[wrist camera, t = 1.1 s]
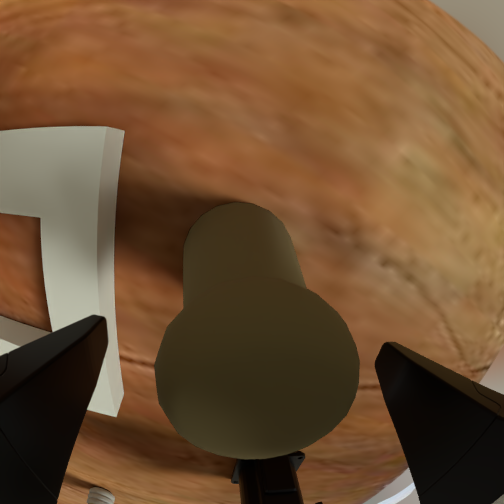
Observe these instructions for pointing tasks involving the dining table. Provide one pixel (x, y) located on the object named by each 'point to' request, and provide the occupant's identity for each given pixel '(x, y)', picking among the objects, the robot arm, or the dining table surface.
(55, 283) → the socket board
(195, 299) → the olive green peg
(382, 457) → the dining table surface
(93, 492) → the light bulb
